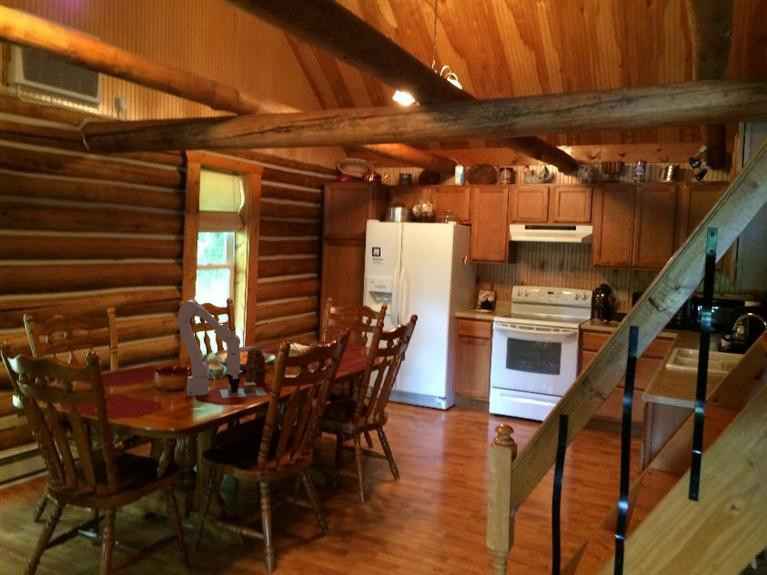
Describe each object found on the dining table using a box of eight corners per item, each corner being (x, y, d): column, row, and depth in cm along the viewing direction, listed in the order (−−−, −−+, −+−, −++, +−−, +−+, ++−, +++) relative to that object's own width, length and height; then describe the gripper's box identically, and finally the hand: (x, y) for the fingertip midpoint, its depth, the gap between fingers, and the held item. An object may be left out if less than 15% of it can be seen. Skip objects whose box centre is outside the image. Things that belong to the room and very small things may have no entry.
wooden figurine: (241, 383, 310) (241, 347, 308) (249, 381, 315) (249, 346, 314) (259, 386, 304) (260, 350, 302) (268, 384, 310) (268, 348, 308)
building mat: (222, 399, 280) (222, 397, 280) (219, 391, 293) (219, 389, 293) (267, 396, 287) (267, 394, 287) (262, 389, 300) (262, 387, 300)
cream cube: (228, 394, 286) (228, 385, 285) (227, 392, 290) (227, 383, 289) (238, 393, 287) (238, 385, 287) (237, 391, 291) (237, 383, 291)
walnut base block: (244, 393, 288) (244, 385, 287) (243, 391, 292) (243, 382, 292) (255, 393, 290) (255, 384, 289) (254, 390, 294) (254, 382, 294)
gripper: (244, 364, 282) (244, 394, 283) (240, 358, 295) (240, 386, 296) (228, 365, 279) (228, 395, 281) (225, 358, 293) (225, 387, 294)
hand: (233, 390), depth 288 cm, fingers open, 7 cm apart
